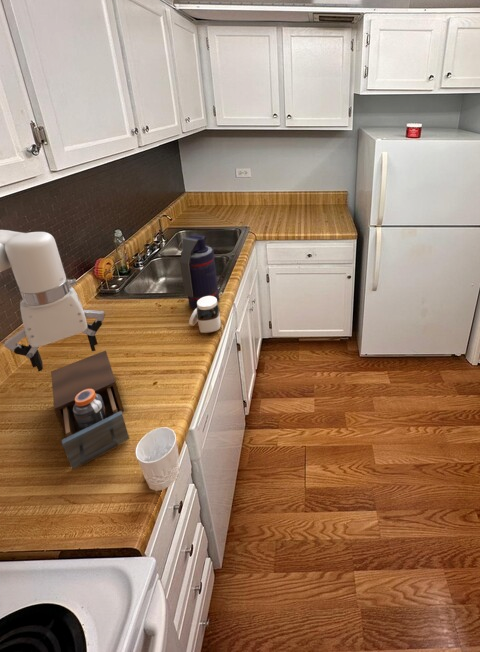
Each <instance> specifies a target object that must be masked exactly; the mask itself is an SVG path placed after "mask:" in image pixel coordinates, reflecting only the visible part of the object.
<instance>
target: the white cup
mask: <svg viewBox="0 0 480 652" xmlns="http://www.w3.org/2000/svg"><path fill="white" fill-rule="evenodd" d="M134 451H135V457H136V460H137V463H138V465H139V469H140V471H141V474H142V475H143V478H144V480H145V482H146V484H147V486H148V488H149V489H150V490H152V491H155V492H158V491H163V490H165V489H167V488H169V487H171V486H172V485H173V483H175V481H176V480H177V479H178V477H179V474H180V457H179V448H178V441H177V435H176V432H175V431H174V430H173V428H170V427H167V426H160V427H157V428H154V429H152V430H150V431H148V432H147V433H146V434H144V435H143V436H142V438H140V440H139V441H138V442H137V444H136V447H135V450H134Z"/></svg>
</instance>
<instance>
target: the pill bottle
mask: <svg viewBox="0 0 480 652" xmlns="http://www.w3.org/2000/svg"><path fill="white" fill-rule="evenodd" d="M73 413H74V416H75V419H76V422H77V424H78V427H79V430H80V431H81V430H83V429H85V428H87V427H89V426H91V425H93V424H95V423H97V422H99V421H101V420H103V419H105V418H107V417H108V415H107V412H106V409H105V406H104V403H103V400H102V397H101V396H100V395H99V394H96V393H95V391H94V390H93V389H86V390H83V391H81V392H80V393H78V394H77V395H76V397H75V405H74V407H73Z"/></svg>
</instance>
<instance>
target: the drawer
mask: <svg viewBox="0 0 480 652" xmlns="http://www.w3.org/2000/svg"><path fill="white" fill-rule="evenodd" d="M96 394H99V395H100V396H101V397H102V400H103V403H104V406H105V409H106V412H107V415H108V417H107V418H105V419H103V420H101V421H99V422H97V423H95V424H93V425H91V426H89V427H87V428H85V429H83V430H81V431H80V430H79V427H78V424H77V422H76V419H75V416H74V413H73V407H74V405H75V403H73V404H71V405H69V406H67V407H64V408H63V414H64V423H65V431H66V436H67V438H66V437H65V438H63V439H61V445H62V448H63V450H64V453H65V456H66V458H67V460H68V462H69V465H70V468H71V470H75V469H76V468H78V467H80V466H81V467H82V466H84V465H86V464H88V463H90V462H92V461H93V460H96V459H97V458H99V457H101V456H102V455H103V456H104V455H105V454H106V453H108V452H111V451H112V450H113V449H115V448H117V447H119V446H120V445H121V444H122V443H124V442H126V441H128V440H130V435H129V432H128V428H127V426H126V422H125V419H124V415H123V411H120V412H118V411H117V408H116V404H115V401H114V398H113V394H112V391H111V388H110V387H109V388H107V389H105V390H102V391H100V392H98V393H96Z"/></svg>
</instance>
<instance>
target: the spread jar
mask: <svg viewBox="0 0 480 652" xmlns="http://www.w3.org/2000/svg"><path fill="white" fill-rule="evenodd" d="M220 310H221V309H220V305H219V302H218V303H217V298H216V297H214V296H205V297H202V298H200V299H199V300H198V301H197V308H196V309H194V310H193V311H192V313H191V315H190V316H189V317H190V318H189V319H188V325H189V326H192V327H194V326H195V325H196V324H198V329H199V332H200V333H201V334H203V335H211V334H214V333H217V332H218V331H220V330H221V327H222V318H221V311H220Z"/></svg>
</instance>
